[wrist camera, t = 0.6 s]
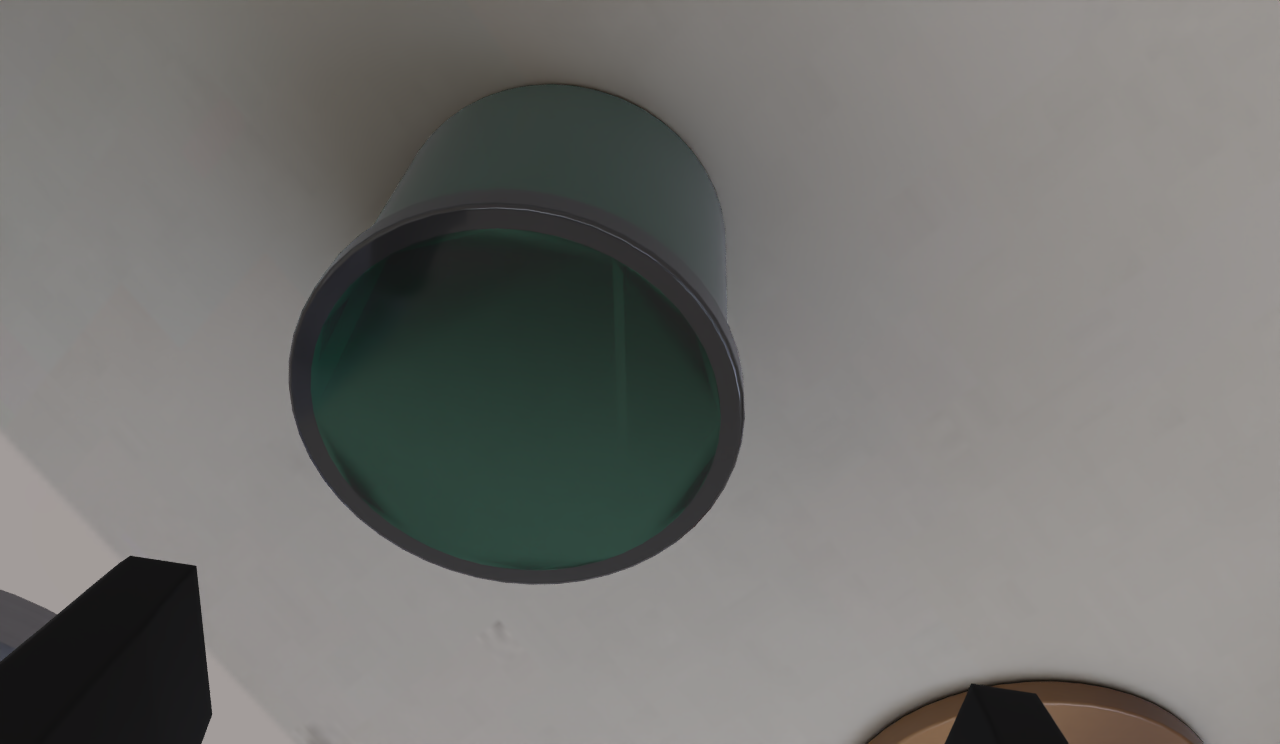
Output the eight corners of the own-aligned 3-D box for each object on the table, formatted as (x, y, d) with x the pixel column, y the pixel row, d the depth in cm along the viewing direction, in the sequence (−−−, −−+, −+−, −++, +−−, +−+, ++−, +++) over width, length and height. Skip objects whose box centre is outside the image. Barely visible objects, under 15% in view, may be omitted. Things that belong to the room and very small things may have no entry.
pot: (366, 347, 20) (271, 533, 15) (411, 25, 17) (308, 148, 12) (684, 423, 20) (677, 624, 16) (785, 124, 17) (807, 275, 13)
